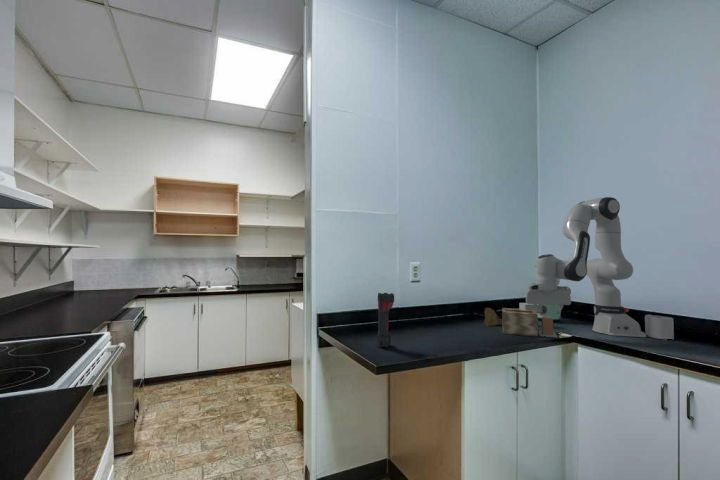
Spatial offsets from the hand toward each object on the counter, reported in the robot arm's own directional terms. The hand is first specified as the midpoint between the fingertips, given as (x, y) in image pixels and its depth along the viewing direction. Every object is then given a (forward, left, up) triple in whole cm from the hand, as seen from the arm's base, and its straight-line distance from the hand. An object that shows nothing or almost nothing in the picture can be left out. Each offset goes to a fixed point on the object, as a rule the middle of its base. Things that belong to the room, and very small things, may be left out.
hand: (548, 313), depth 169 cm
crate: (+14, 0, -11) cm, 17 cm away
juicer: (-5, -43, -11) cm, 44 cm away
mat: (+1, 0, -11) cm, 11 cm away
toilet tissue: (-50, -19, -11) cm, 55 cm away
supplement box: (+8, -21, -11) cm, 25 cm away
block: (+1, 0, -10) cm, 10 cm away
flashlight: (+70, +54, -11) cm, 89 cm away
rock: (+27, -14, -11) cm, 32 cm away
